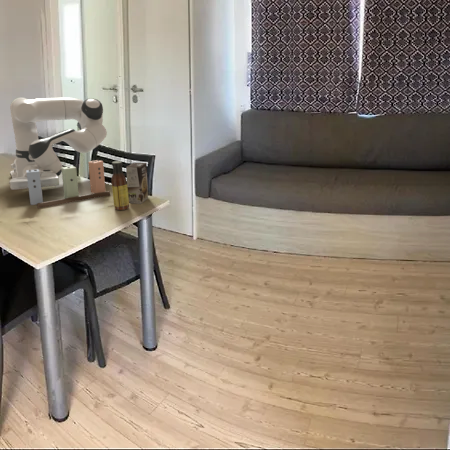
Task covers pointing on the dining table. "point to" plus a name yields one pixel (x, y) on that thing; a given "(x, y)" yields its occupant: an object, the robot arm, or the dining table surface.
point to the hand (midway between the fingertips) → (35, 186)
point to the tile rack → (73, 199)
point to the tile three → (96, 176)
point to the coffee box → (137, 182)
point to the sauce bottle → (119, 187)
